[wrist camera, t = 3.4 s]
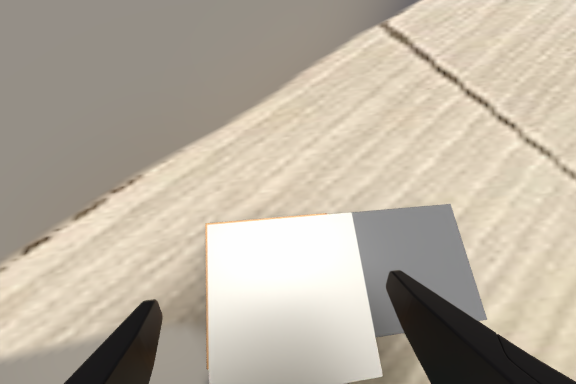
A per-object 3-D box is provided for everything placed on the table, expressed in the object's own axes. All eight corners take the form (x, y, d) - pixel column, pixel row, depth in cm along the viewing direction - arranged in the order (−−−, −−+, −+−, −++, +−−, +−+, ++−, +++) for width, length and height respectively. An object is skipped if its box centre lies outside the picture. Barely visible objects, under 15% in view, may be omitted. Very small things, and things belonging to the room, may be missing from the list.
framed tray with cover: (214, 353, 16) (202, 374, 12) (212, 229, 18) (201, 220, 15) (463, 314, 18) (508, 324, 15) (432, 210, 21) (465, 198, 17)
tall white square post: (232, 332, 14) (179, 449, 5) (229, 244, 16) (183, 205, 7) (317, 320, 15) (412, 402, 6) (306, 236, 17) (367, 190, 7)
